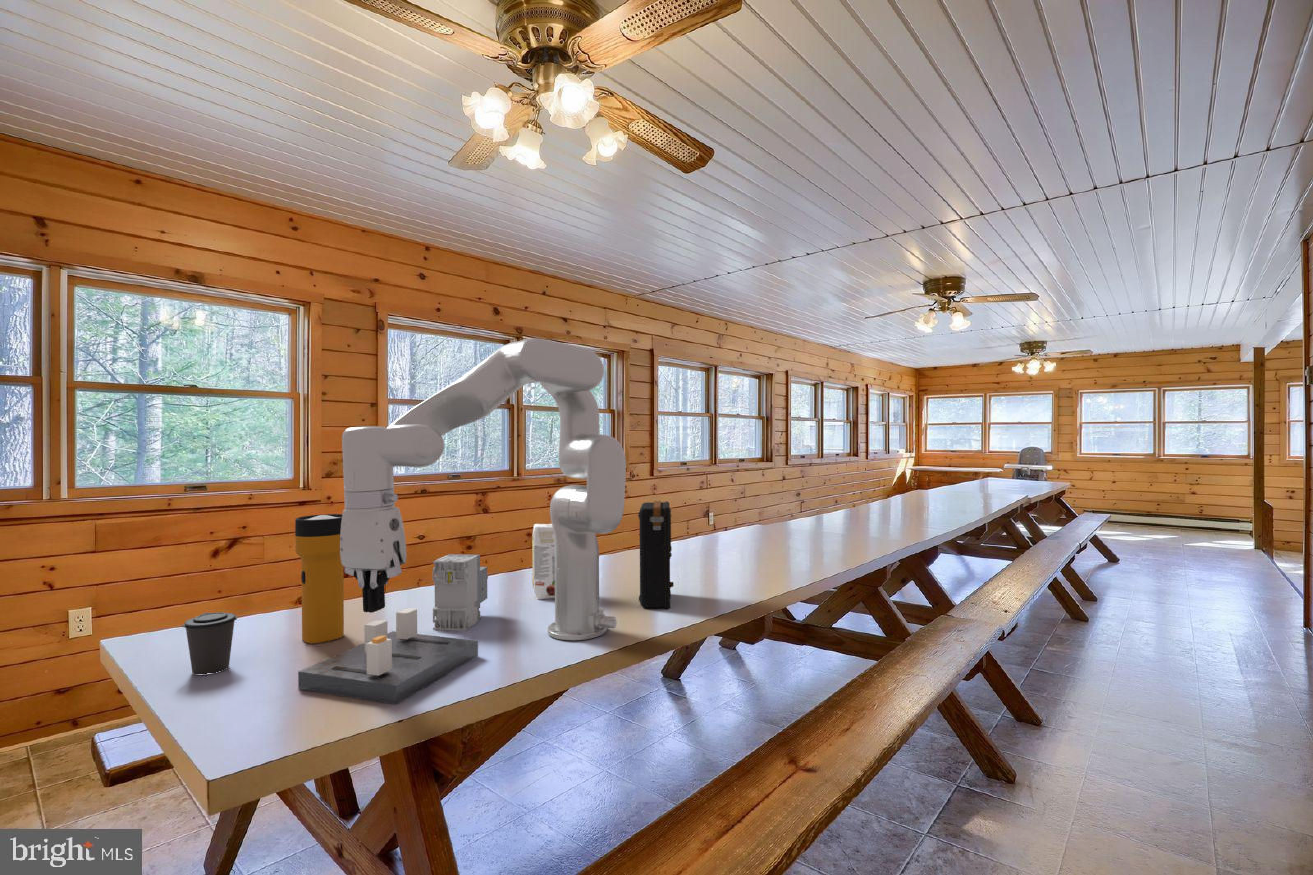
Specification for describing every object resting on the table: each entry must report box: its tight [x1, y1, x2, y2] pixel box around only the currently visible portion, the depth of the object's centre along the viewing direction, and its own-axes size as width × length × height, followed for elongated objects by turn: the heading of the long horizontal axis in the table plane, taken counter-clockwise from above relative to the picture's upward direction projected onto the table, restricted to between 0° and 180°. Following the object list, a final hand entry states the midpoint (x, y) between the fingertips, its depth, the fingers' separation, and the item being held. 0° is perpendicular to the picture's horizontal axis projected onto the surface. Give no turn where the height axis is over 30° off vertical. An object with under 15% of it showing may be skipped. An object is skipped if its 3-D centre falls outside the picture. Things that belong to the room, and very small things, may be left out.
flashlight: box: [294, 513, 345, 644], centre depth 128 cm, size 10×26×10 cm
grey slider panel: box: [297, 630, 479, 705], centre depth 109 cm, size 20×22×3 cm
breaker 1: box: [363, 619, 388, 653], centre depth 110 cm, size 2×3×5 cm
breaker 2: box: [395, 607, 418, 639], centre depth 118 cm, size 2×3×5 cm
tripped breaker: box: [366, 635, 392, 676], centre depth 100 cm, size 2×3×6 cm
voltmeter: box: [637, 500, 674, 610], centre depth 155 cm, size 16×9×25 cm, turn 179°
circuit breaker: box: [432, 553, 489, 631], centre depth 140 cm, size 8×14×15 cm, turn 174°
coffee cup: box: [182, 611, 238, 674], centre depth 110 cm, size 8×8×10 cm
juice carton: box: [531, 523, 555, 600], centre depth 161 cm, size 8×9×19 cm
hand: (374, 609), depth 101 cm, fingers closed
